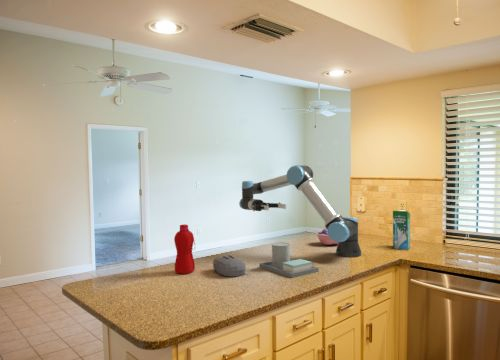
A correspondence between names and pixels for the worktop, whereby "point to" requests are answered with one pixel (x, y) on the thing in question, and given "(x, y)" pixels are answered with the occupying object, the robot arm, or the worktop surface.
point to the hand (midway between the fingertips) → (276, 207)
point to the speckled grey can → (280, 254)
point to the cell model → (325, 238)
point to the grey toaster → (229, 266)
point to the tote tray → (280, 271)
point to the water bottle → (184, 251)
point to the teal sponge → (296, 265)
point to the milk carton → (401, 229)
